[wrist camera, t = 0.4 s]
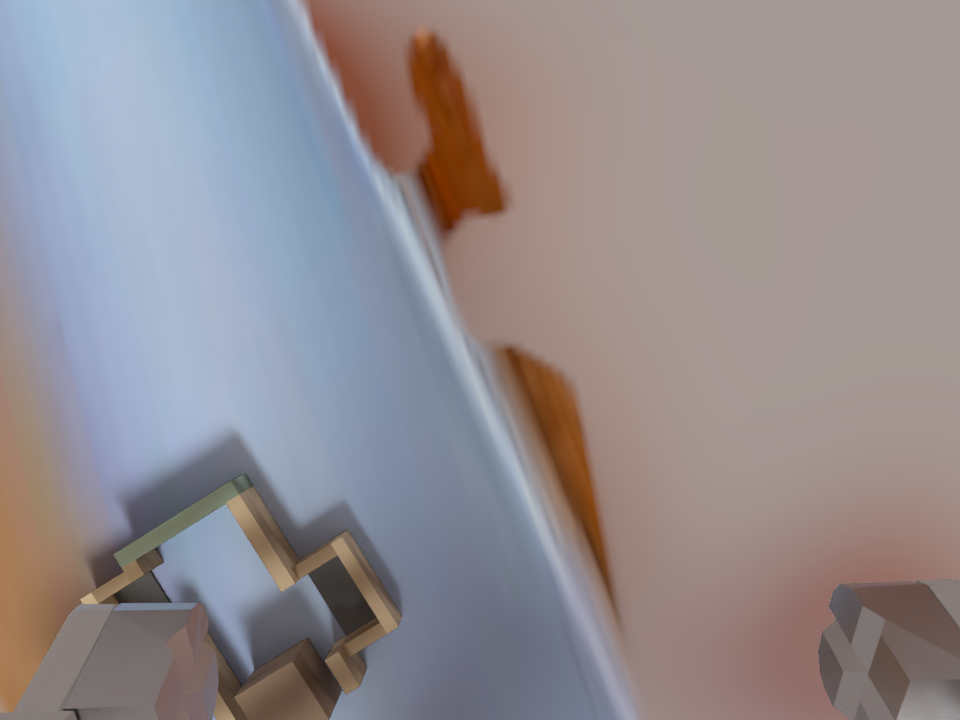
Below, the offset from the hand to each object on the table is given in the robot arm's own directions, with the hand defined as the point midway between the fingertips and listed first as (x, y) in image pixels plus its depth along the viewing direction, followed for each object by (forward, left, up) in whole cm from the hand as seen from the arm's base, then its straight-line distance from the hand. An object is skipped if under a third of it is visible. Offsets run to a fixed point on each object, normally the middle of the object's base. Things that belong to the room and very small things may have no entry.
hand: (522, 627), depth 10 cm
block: (-10, +25, -52) cm, 59 cm away
